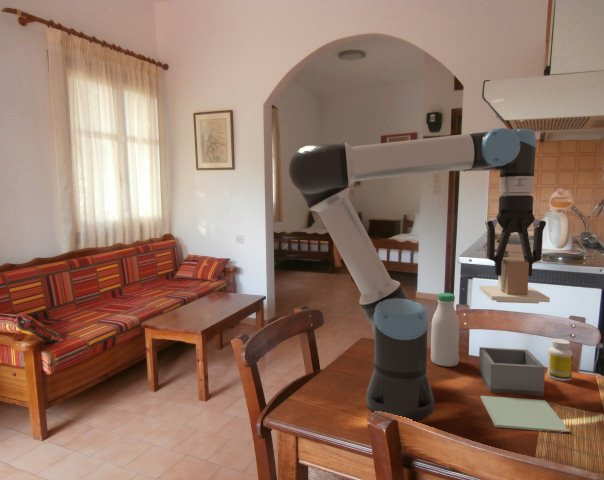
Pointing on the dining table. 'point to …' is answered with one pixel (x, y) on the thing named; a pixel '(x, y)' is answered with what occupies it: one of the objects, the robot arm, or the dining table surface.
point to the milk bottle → (445, 332)
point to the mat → (522, 414)
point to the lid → (515, 285)
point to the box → (511, 371)
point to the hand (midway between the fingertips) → (512, 288)
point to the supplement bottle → (560, 360)
